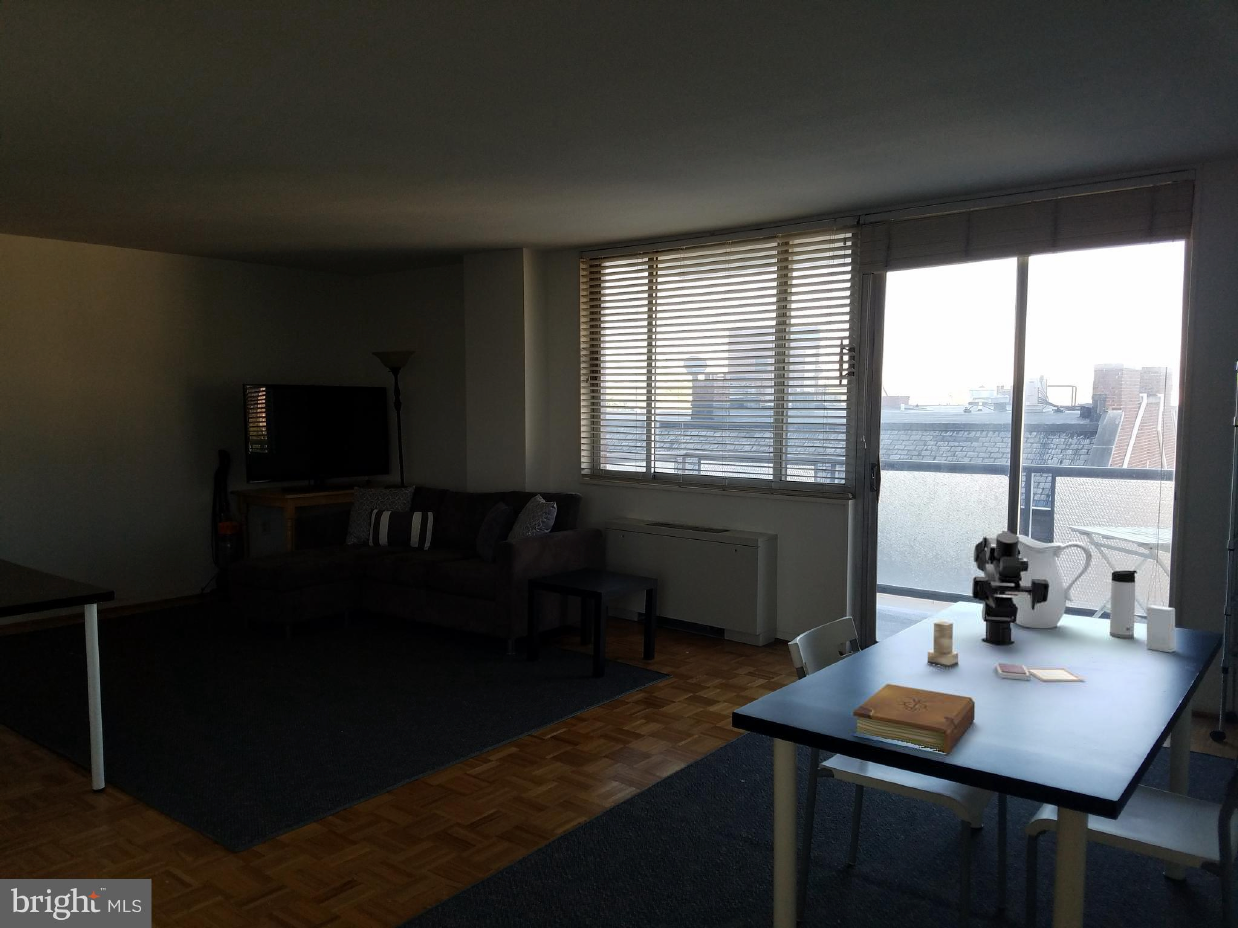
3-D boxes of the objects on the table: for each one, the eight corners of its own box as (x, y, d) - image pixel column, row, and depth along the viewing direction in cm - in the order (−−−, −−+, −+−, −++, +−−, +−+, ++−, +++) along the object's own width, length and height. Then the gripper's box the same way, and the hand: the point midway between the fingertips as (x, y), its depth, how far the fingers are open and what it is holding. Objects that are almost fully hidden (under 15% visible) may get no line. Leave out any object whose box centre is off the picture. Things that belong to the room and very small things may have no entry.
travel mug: (1134, 639, 257) (1136, 572, 256) (1109, 636, 260) (1111, 570, 259) (1135, 635, 262) (1137, 569, 261) (1110, 632, 266) (1112, 567, 265)
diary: (948, 758, 167) (948, 729, 167) (853, 739, 178) (853, 711, 177) (974, 723, 186) (974, 697, 186) (887, 707, 197) (887, 682, 196)
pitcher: (998, 624, 276) (1000, 537, 274) (1017, 616, 288) (1018, 532, 287) (1081, 637, 259) (1083, 544, 258) (1096, 627, 272) (1099, 539, 270)
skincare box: (1175, 650, 245) (1176, 607, 244) (1169, 653, 242) (1170, 610, 241) (1151, 646, 249) (1152, 604, 249) (1145, 648, 247) (1146, 606, 246)
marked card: (1023, 669, 226) (1023, 667, 226) (1063, 669, 226) (1063, 667, 226) (1042, 681, 215) (1042, 679, 215) (1084, 681, 215) (1084, 679, 215)
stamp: (927, 663, 231) (928, 622, 231) (936, 659, 235) (937, 619, 234) (949, 668, 227) (949, 626, 227) (957, 664, 230) (958, 623, 230)
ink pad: (995, 667, 227) (995, 662, 227) (1024, 670, 225) (1024, 664, 225) (999, 677, 218) (999, 671, 218) (1029, 679, 216) (1029, 674, 216)
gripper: (972, 548, 241) (978, 580, 227) (1045, 550, 236) (1056, 583, 222) (969, 581, 246) (975, 614, 232) (1041, 584, 241) (1052, 619, 227)
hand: (1014, 607), depth 228 cm, fingers open, 9 cm apart
